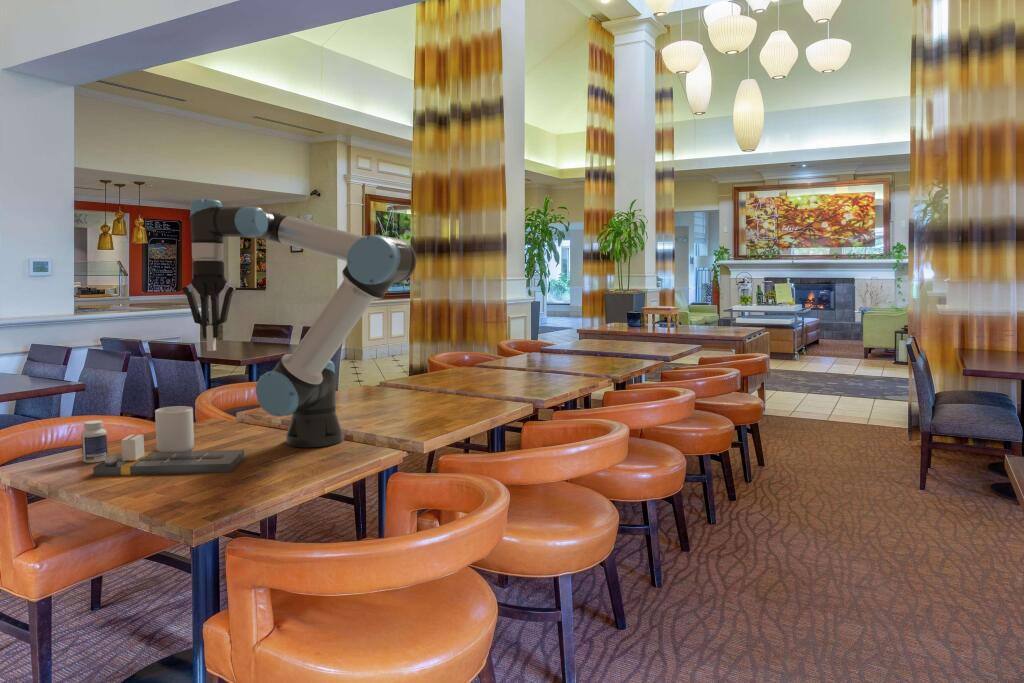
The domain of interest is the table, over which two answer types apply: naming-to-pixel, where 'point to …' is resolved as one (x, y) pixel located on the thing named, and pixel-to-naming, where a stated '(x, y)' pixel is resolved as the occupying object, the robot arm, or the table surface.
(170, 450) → the mug
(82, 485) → the table surface
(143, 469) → the console board
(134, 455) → the fader tab
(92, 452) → the pill bottle
